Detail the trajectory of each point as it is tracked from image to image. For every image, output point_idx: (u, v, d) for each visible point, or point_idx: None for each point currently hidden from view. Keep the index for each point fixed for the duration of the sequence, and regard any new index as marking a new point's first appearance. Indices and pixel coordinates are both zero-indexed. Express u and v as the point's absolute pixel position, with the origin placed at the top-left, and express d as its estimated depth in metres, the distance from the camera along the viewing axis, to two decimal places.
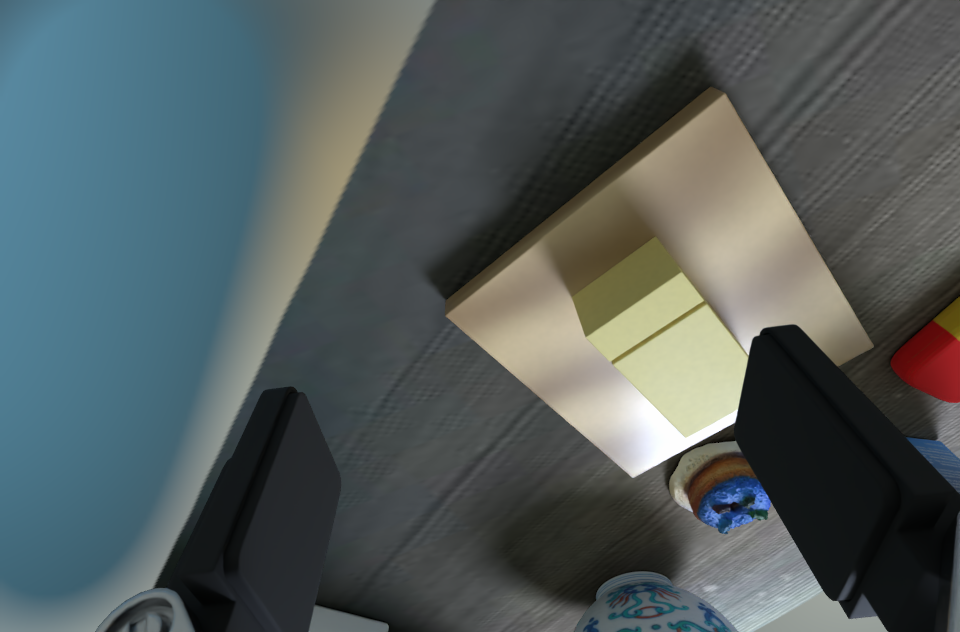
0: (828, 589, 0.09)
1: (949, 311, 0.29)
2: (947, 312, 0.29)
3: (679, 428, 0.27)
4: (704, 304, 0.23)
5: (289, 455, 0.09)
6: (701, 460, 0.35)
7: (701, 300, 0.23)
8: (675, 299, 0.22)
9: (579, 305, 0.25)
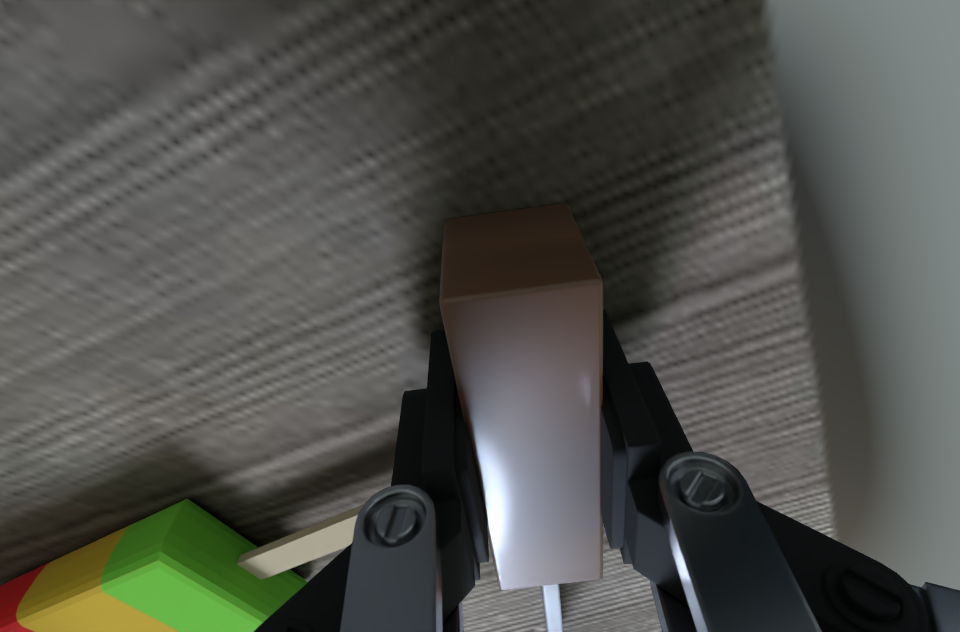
0: (609, 539, 0.10)
1: (61, 561, 0.15)
2: (60, 561, 0.15)
3: None
4: None
5: None
6: None
7: None
8: None
9: None
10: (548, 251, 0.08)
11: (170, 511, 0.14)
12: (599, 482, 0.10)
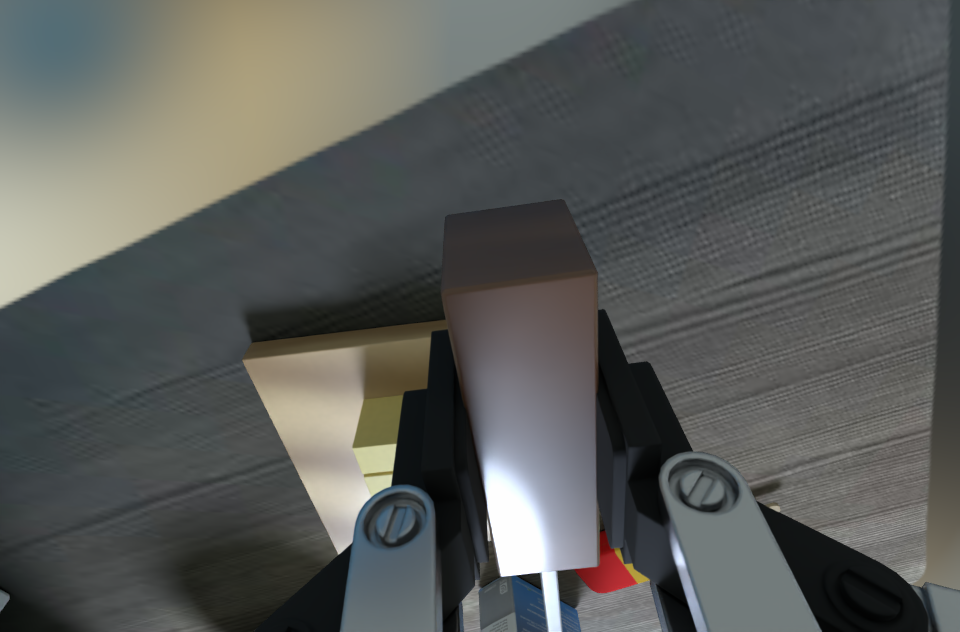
0: (609, 539, 0.10)
1: None
2: None
3: None
4: None
5: None
6: None
7: None
8: None
9: (364, 412, 0.27)
10: (545, 245, 0.09)
11: None
12: (595, 469, 0.10)
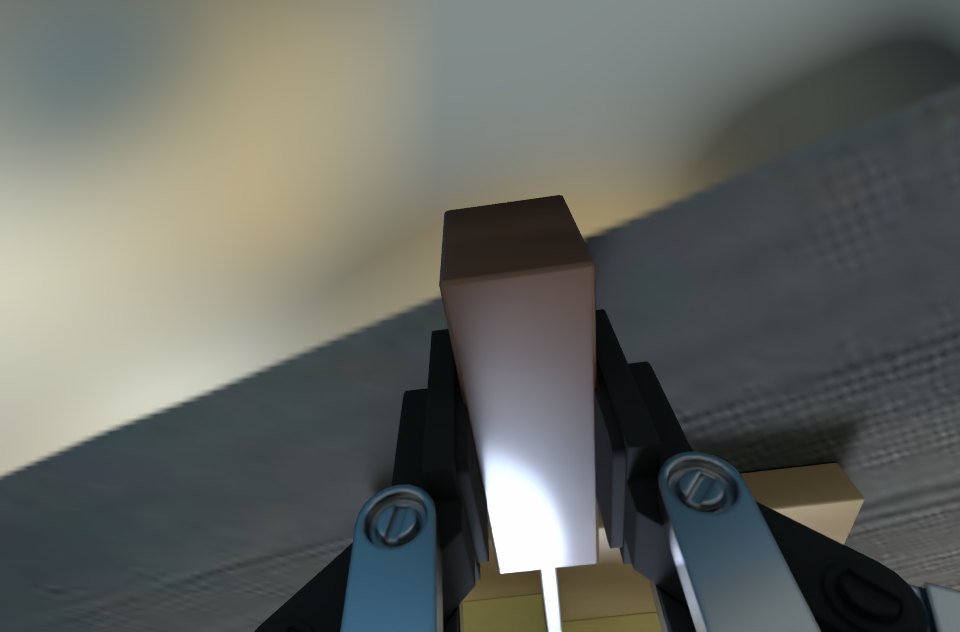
0: (608, 539, 0.10)
1: None
2: None
3: None
4: None
5: None
6: None
7: None
8: None
9: None
10: (543, 237, 0.09)
11: None
12: (594, 464, 0.10)
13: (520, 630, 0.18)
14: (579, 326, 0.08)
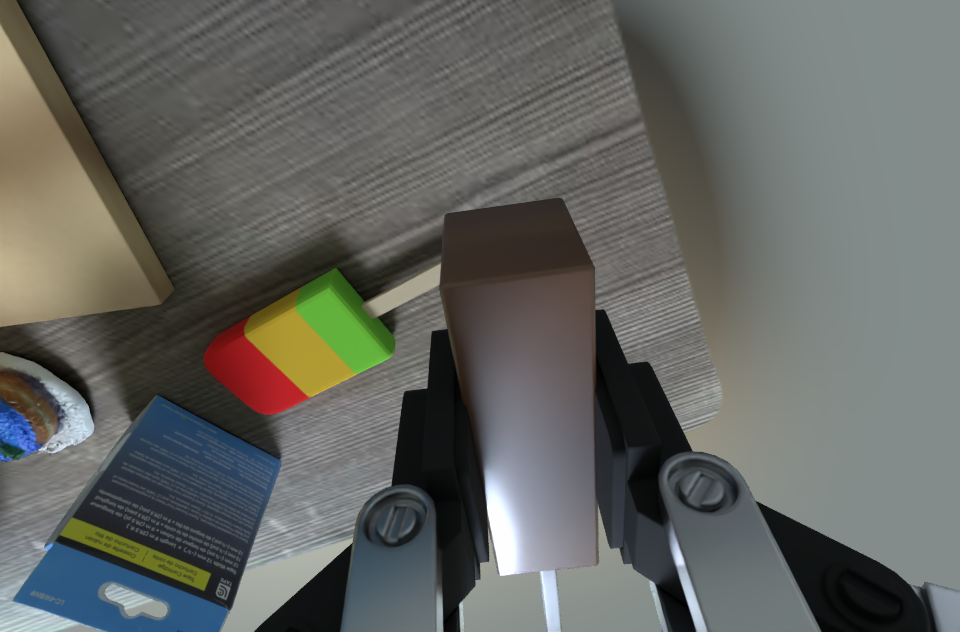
0: (608, 539, 0.10)
1: (262, 309, 0.27)
2: (262, 310, 0.27)
3: None
4: None
5: None
6: None
7: None
8: None
9: None
10: (543, 240, 0.09)
11: (329, 272, 0.26)
12: (594, 466, 0.10)
13: None
14: (579, 329, 0.08)
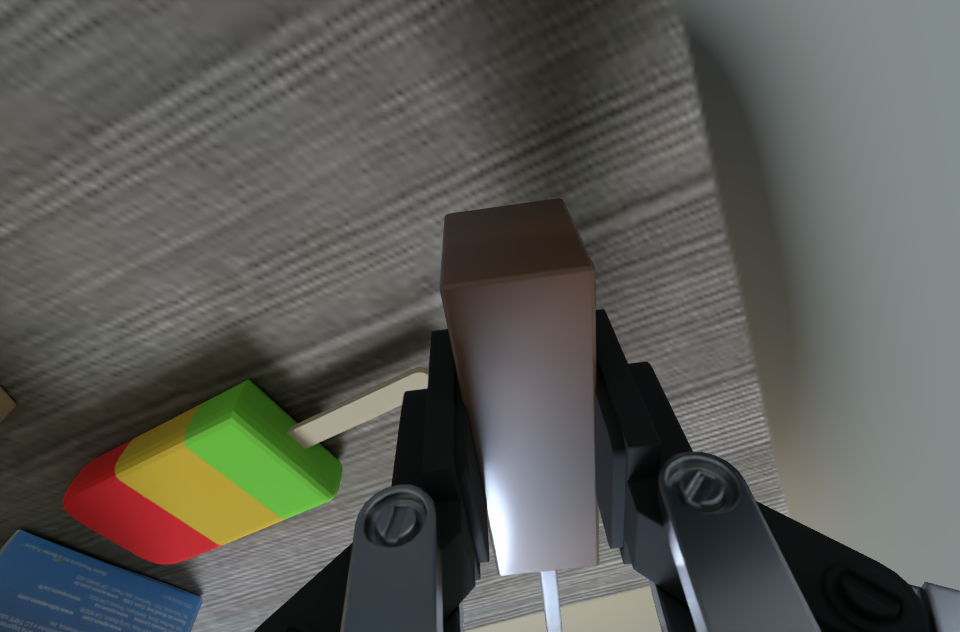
0: (608, 539, 0.10)
1: (146, 433, 0.19)
2: (146, 434, 0.19)
3: None
4: None
5: None
6: None
7: None
8: None
9: None
10: (543, 241, 0.09)
11: (237, 387, 0.18)
12: (594, 466, 0.10)
13: None
14: (579, 330, 0.08)
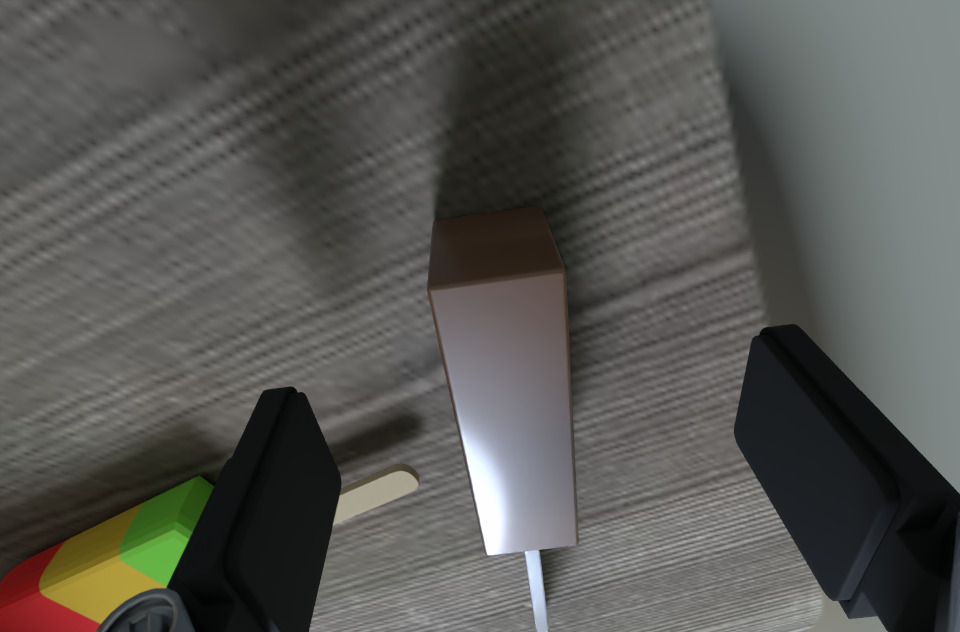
0: (828, 589, 0.09)
1: (80, 537, 0.16)
2: (79, 537, 0.16)
3: None
4: None
5: (289, 455, 0.09)
6: None
7: None
8: None
9: None
10: (520, 246, 0.10)
11: (184, 487, 0.15)
12: (571, 451, 0.11)
13: None
14: (553, 326, 0.09)
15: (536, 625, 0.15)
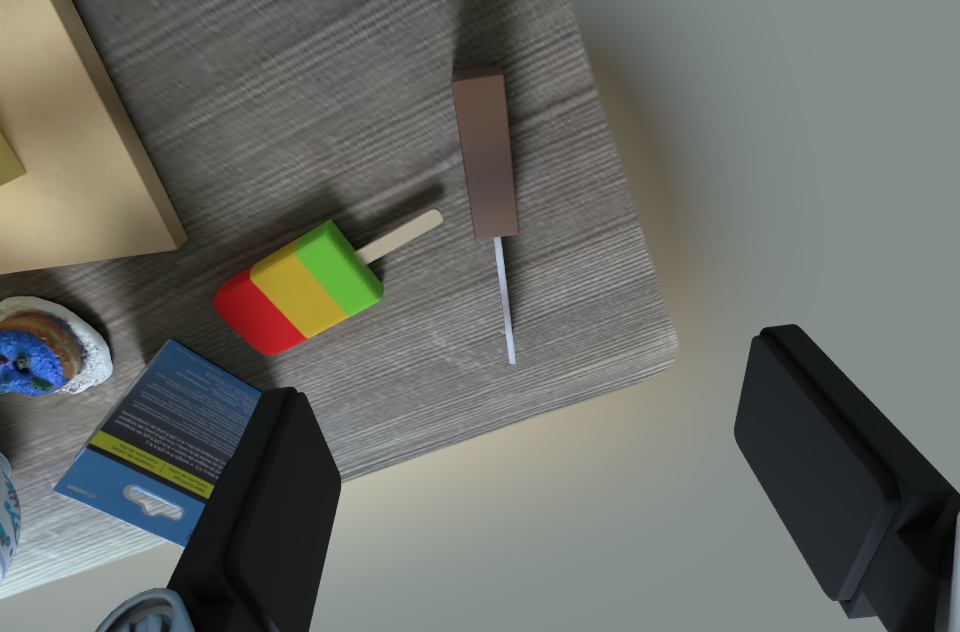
0: (828, 589, 0.09)
1: (266, 257, 0.31)
2: (265, 258, 0.31)
3: None
4: None
5: (289, 455, 0.09)
6: (16, 309, 0.32)
7: None
8: None
9: None
10: (488, 71, 0.24)
11: (325, 222, 0.29)
12: (511, 170, 0.26)
13: None
14: (500, 101, 0.24)
15: (502, 300, 0.30)
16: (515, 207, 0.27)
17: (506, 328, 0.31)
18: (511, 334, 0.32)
